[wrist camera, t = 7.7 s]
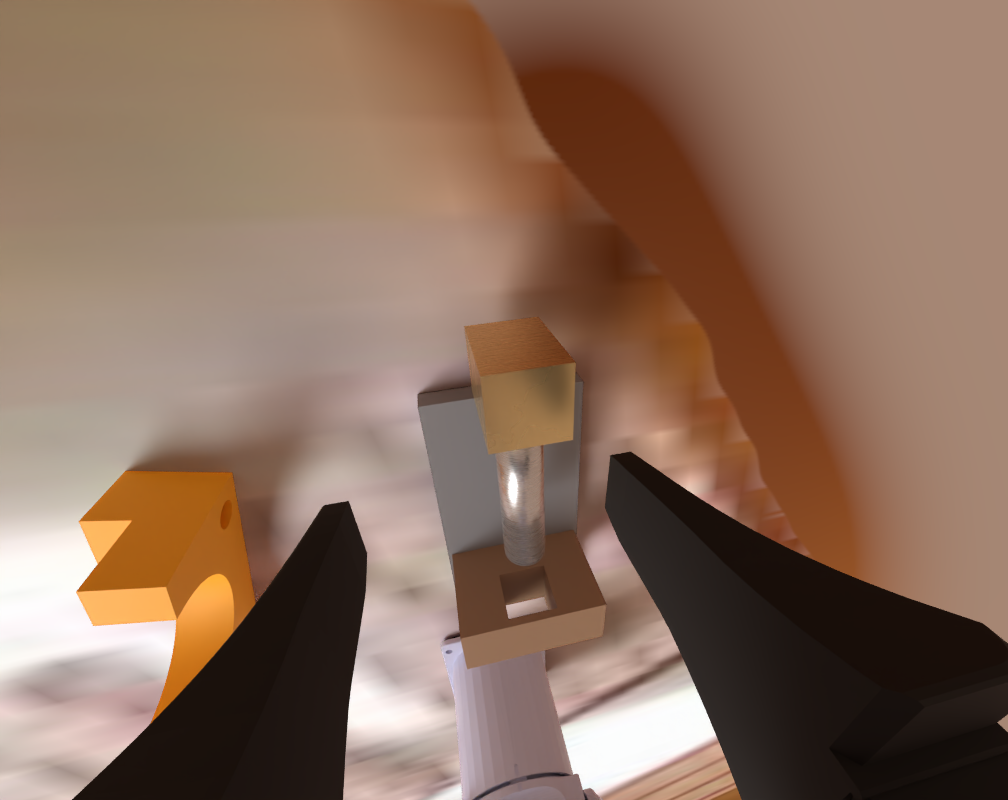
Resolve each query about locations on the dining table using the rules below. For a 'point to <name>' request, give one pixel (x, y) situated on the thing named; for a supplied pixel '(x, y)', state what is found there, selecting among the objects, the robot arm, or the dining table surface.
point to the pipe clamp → (170, 563)
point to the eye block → (480, 544)
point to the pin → (521, 419)
